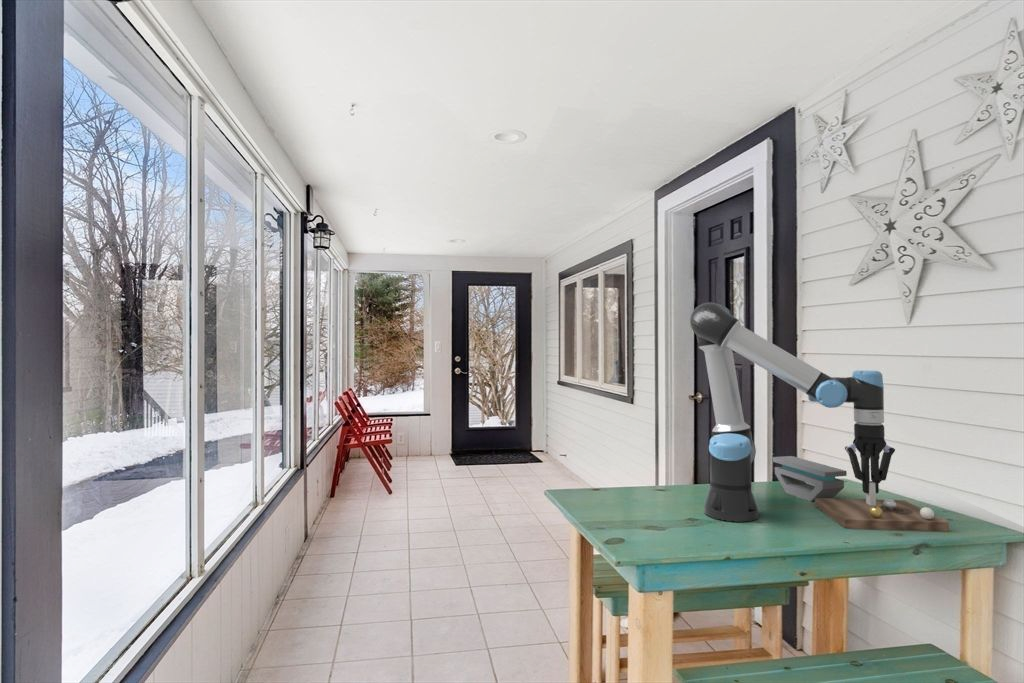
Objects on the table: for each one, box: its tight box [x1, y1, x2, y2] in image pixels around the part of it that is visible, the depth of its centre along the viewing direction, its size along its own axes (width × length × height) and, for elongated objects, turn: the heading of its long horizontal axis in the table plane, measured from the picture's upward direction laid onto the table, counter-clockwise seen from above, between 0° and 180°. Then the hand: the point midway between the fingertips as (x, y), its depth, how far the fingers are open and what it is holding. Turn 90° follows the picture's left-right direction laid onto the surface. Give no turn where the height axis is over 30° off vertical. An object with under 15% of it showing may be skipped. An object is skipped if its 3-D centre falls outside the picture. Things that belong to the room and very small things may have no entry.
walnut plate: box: [814, 497, 950, 533], centre depth 167 cm, size 26×22×2 cm
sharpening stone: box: [772, 455, 848, 502], centre depth 192 cm, size 25×8×11 cm, turn 12°
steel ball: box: [883, 498, 896, 511], centre depth 167 cm, size 3×3×3 cm
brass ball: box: [869, 506, 883, 518], centre depth 159 cm, size 3×3×3 cm
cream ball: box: [920, 506, 935, 519], centre depth 158 cm, size 3×3×3 cm
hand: (870, 504), depth 167 cm, fingers closed
